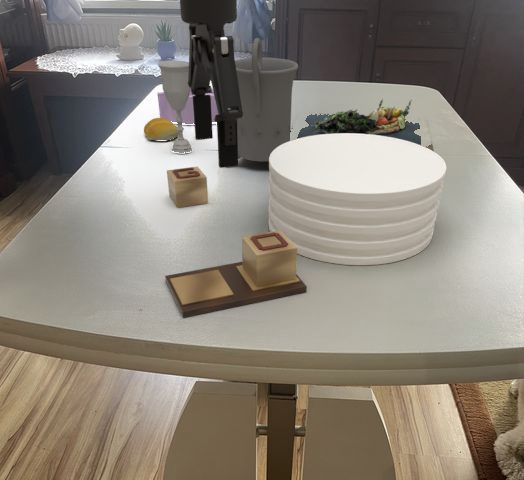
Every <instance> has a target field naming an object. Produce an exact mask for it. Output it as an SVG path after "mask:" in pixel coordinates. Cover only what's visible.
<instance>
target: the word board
mask: <svg viewBox="0 0 524 480" xmlns="http://www.w3.org/2000/svg"><path fill="white" fill-rule="evenodd" d="M164 278H165V284H166V285H167V288H168V289H169V292H170V294H171V296H172V298H173V299H174V301H175V304H176V306H177V308H178V310H179V312H180V314H181V316H182V318H183V319H184V318H189V317H193V316H199V315H203V314H204V315H205V314H208V313H213V312H217V311H222V310H227V309H231V308H236V307H241V306H246V305H251V304H255V303H256V304H257V303H262V302H267V301H269V300H275V299H280V298H284V297H285V298H286V297H289V296H294V295H295V296H296V295H298V294H299V295H300V294H303V293H307V287H308V286H307V285H306V283H305V282H304V281H303V280H302V279H301V278H300V277H299V276H298V274H297V273H296V279H295V280H290V281H285V282H280V283H275V284H270V285H265V286H260V287H256V285H255V284H254V282H253V281H252V280H251V278H250V277H249V275H248V274H247V273H246V271H245V270H244V269H243V264H242V261H239V262H232V263H228V264H227V263H226V264H221V265H217V266H210V267H206V268H201V269H195V270H189V271H185V272H179V273H178V272H177V273H173V274H167V275H165V276H164Z"/></svg>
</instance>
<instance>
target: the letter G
mask: <svg viewBox="0 0 524 480" xmlns="http://www.w3.org/2000/svg"><path fill="white" fill-rule="evenodd" d="M166 178H167V187H168V188H167V189H168V196H169V197H170V199H171V201H172V202H173V204H174V206H175V207H176V208H177V209H178V208H187V207H193V206H200V205H205V204H206V205H207V204H209V191H208V177H207V176H206V175H205V173H204V172H203V171H202V170H201V168H199V166H189V167H182V168H174V169H167V170H166Z"/></svg>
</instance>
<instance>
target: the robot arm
mask: <svg viewBox="0 0 524 480" xmlns="http://www.w3.org/2000/svg"><path fill="white" fill-rule="evenodd" d="M179 8H180V17H181V18H180V19H181V20H182V21H183V23H185V24H188V30H189V31H188V32H189V33H188V34H189V48H188V49H189V50H188V51H189V52H188V62H189V73H188V86H189V88H191V92H192V94H193V95H195V96H193V109H194V124H195V126H194V137H195V141H201V140H210V139H214V138H213V137H214V135H213V124H212V115H211V96H210V95H205V94H207V93H213V92H214V96H215V101H216V105H217V110H218V114H219V115H216V116H215V119H214V120H215V122H217V125H216V134H217V156H218V158H217V159H218V167H219V168H220V169H224V168H230V167H231V168H232V167H238V166H239V159H238V138H237V120H238V118H242V117H243V112H242V106H241V99H240V92H239V85H238V78H237V72H236V65H235V61H236V59H235V46H234V44H235V43H234V41H235V40H234V37H233V35H226V33H225V25H227V24H233V23H234V22H236V21H237V19H238V0H179ZM212 89H213V92H211V91H212ZM228 108H230V109H229V110H228Z"/></svg>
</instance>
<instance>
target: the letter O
mask: <svg viewBox="0 0 524 480" xmlns="http://www.w3.org/2000/svg"><path fill="white" fill-rule="evenodd" d="M241 257H242V258H241V259H242V261H241V262H242V264H243V269H244V270H245V271H246V273H247V274H248V275H249V277H250V278H251V280H252V281H253V282H254V284H255V285H256V287H260V286H265V285H270V284H275V283H280V282H285V281H290V280H295V279H296V274H297V263H298V254H297V247H296V246H295V245H294V244H293V243H292V242H291V241H290V240H289V238H288V237H287V236H286V235H285V234H284V233H283V232H282V231H281V230H277V231H271V232H270V231H266V232H261V233H255V234H254V233H253V234H249V235H243V236H241Z"/></svg>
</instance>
